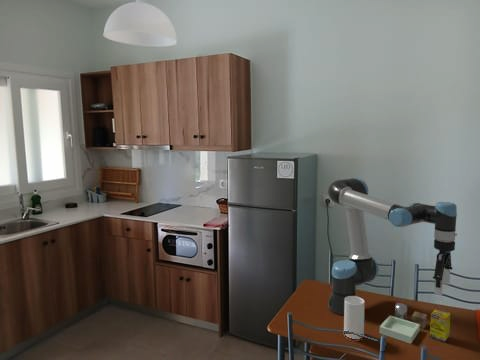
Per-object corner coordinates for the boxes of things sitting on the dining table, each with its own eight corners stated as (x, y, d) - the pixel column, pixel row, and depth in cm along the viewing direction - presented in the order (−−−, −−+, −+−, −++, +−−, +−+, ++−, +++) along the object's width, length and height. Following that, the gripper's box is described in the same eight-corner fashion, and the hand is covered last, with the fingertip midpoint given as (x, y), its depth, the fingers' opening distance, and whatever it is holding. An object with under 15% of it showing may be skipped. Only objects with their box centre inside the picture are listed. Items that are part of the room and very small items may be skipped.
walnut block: (411, 325, 163) (412, 315, 162) (414, 321, 166) (415, 311, 166) (423, 329, 159) (424, 318, 159) (426, 324, 163) (427, 314, 162)
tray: (379, 333, 157) (379, 326, 156) (389, 321, 166) (389, 315, 166) (410, 343, 148) (411, 337, 148) (419, 330, 158) (419, 324, 158)
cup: (364, 341, 151) (365, 305, 149) (344, 339, 152) (345, 303, 151) (362, 331, 159) (363, 296, 157) (343, 329, 160) (343, 295, 159)
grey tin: (393, 320, 168) (393, 305, 167) (396, 315, 171) (397, 302, 171) (404, 323, 164) (405, 309, 164) (407, 319, 168) (408, 305, 167)
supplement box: (429, 337, 153) (430, 313, 151) (434, 332, 157) (435, 308, 156) (445, 343, 149) (446, 318, 147) (449, 337, 153) (450, 313, 151)
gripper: (448, 248, 136) (445, 302, 138) (460, 234, 154) (458, 281, 157) (426, 245, 140) (424, 296, 143) (441, 231, 159) (439, 277, 162)
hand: (442, 289), depth 150 cm, fingers open, 13 cm apart
